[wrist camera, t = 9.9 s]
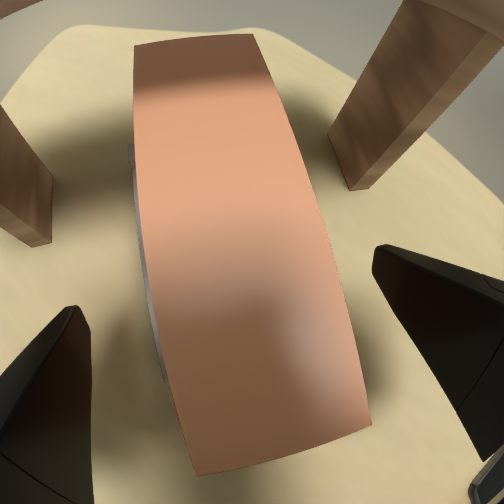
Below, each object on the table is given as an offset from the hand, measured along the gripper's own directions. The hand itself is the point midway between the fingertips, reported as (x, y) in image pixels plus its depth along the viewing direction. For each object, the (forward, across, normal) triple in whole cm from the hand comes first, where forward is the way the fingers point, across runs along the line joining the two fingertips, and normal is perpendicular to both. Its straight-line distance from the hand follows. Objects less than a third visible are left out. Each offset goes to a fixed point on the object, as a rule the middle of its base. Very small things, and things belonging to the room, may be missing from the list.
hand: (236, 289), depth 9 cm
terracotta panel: (+7, 0, +4) cm, 8 cm away
